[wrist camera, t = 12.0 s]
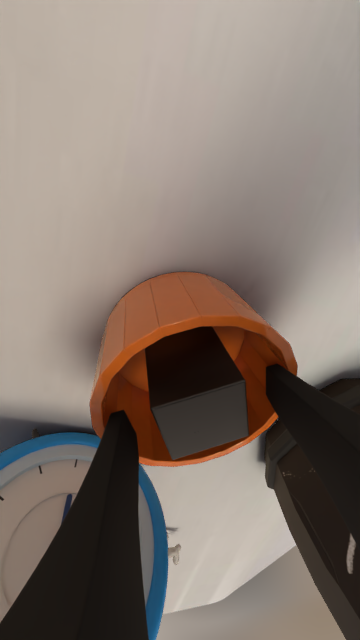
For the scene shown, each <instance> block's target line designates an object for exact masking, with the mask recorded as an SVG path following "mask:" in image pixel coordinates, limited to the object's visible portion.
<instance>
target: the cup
mask: <svg viewBox="0 0 360 640" xmlns="http://www.w3.org/2000/svg"><path fill="white" fill-rule="evenodd" d="M200 326H212V327H213V329H214V330H215V332H216V333H217V335H218V337H219V338H220V340H221V342H222V343H223V345H224V346H225V348H226V350H227V351H228V353H229V355H230V356H231V358H232V359H233V361H234V363H235V364H236V366H237V368H238V369H239V371H240V372H241V374H242V376H243V377H244V379H245V381H246V396H247V411H248V426H249V436H247V437H244V438H240V439H237V440H234V441H231V442H228V443H225V444H222V445H219V446H215V447H212V448H209V449H206V450H203V451H200V452H197V453H193V454H190V455H187V456H184V457H181V458H178V459H175V460H172V459H171V456H170V454H169V452H168V449H167V447H166V445H165V442H164V440H163V438H162V435H161V433H160V431H159V428H158V426H157V424H156V421H155V419H154V417H153V415H152V412H151V410H150V401H149V390H148V379H147V369H146V358H145V348H146V347H148V346H150V345H151V344H153V343H155V342H156V341H158V340H160V339H161V338H163V337H165V336H169V335H172V334H176V333H179V332H183V331H186V330H190V329H193V328H197V327H200ZM274 364H279V365H281V366H282V367H284V368H285V369H286V370H288V371H289V372H291V373H292V374H294V375H295V376H297V362H296V360H295V357H294V354H293V351H292V348H291V346H290V344H289V342H288V341H286V340H285V339H284V338H283V337H282V336H281V335H280V334H279V333H278V332H277V331H276V330H275V329H274V328H273V327H272V326H271V325H269V324H268V323H267V322H266V321H265V320H264V319H263V318H262V317H261V316H260V315H259V314H258V313H257V312H256V311H255V310H254V309H253V308H251V307H250V306H249V305H248V304H247V303H246V302H245V301H244V300H243V299H242V298H241V297H240V296H239V295H238V294H237V293H236V292H234V291H233V290H232V289H231V288H230V287H229V286H228V285H226V284H225V283H223V282H222V281H220V280H218V279H216V278H214V277H211V276H208V275H205V274H200V273H195V272H173V273H168V274H163V275H160V276H157V277H154V278H151V279H149V280H147V281H145V282H143V283H141V284H139V285H138V286H136V287H135V288H133V289H132V290H130V291H129V292H128V293H127V294H126V295H125V296H123V298H122V299H121V300H120V301H119V302H118V303H117V304H116V306H115V307H114V309H113V310H112V312H111V314H110V316H109V318H108V320H107V323H106V327H105V330H104V334H103V336H102V341H101V346H100V351H99V356H98V362H97V367H96V372H95V377H94V382H93V387H92V393H91V398H90V412H91V420H92V427H93V429H94V431H95V432H96V434H97V435H98V436H99V438H100V439H101V438H102V435H103V433H104V430H105V427H106V424H107V422H108V419H109V416H110V414H111V413H114V412H117V411H120V410H124V411H125V413H126V415H127V417H128V419H129V420H130V422H131V424H132V426H133V428H134V430H135V432H136V434H137V442H138V453H139V463H141V464H145V465H150V466H168V467H174V466H175V467H177V466H183V465H190V464H197V463H202V462H205V461H208V460H211V459H215V458H218V457H221V456H224V455H225V454H226V455H227V454H229V453H231V452H232V451H234V450H236V449H238V448H240V447H242V446H244V445H246V444H248V443H249V442H251V441H252V440H253V439H255V438H256V437H257V436H259V435H260V434H261V433H263V432H264V431H265V430H267V429H268V428H269V427H270V426H271V425H272V424H273V422H274V421H275V420H276V419H277V418H278V415H277V414H276V412H275V411H274V409H273V407H272V405H271V403H270V401H269V400H268V398H267V396H266V367H267V366H271V365H274Z"/></svg>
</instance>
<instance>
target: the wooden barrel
mask: <svg viewBox="0 0 360 640" xmlns="http://www.w3.org/2000/svg"><path fill="white" fill-rule="evenodd" d="M319 391H320V392H322V393H324V394H325V395H327V396H328V397H330V398H332V399H333V400H335V401H337V402H339V403H340V404H342V405H344V406H346V407H348V408H349V409H351V410H353V411H355V412H357V413H359V414H360V378H358V379H341V380H339V381H337V382H335V383H333V384H331V385H329V386H327V387H325V388H323V389H321V390H319ZM265 461H266V472H265V478H266V483H267V486H268V487H269V488H271V489H274V491H275V493H276V496H277V499H278V501H279V504H280V506H281V509H282V512H283V514H284V517H285V519H286V522H287V525H288V527H289V530H290V532H291V534H292V536H293V538H294V540H295V543H296V545H297V547H298V549H299V551H300V553H301V555H302V557H303V559H304V561H305V564H306V566H307V568H308V570H309V572H310V574H311V576H312V578H313V580H314V583H315V585H316V586H317V588H318V590H319V592H320V594H321V595H322V597H323V599H324V601H325V603H326V604H327V606H328V608H329V609H330V612H331V613H332V615H333V617H334V619H335V620H336V622H337V624H338V626H339V628H340V629H341V631H342V633H343V635H344V637H345V638H346V640H360V550H359V548H358V546H357V544H356V543H355V541H354V539H353V537H352V535H351V533H350V531H349V530H348V528H347V526H346V524H345V522H344V520H343V518H342V517H341V515H340V513H339V511H338V509H337V508H336V506H335V504H334V502H333V501H332V499H331V497H330V495H329V493H328V492H327V490H326V488H325V486H324V485H323V483H322V481H321V480H320V478H319V476H318V475H317V473H316V471H315V469H314V468H313V466H312V465H311V463H310V462H309V460H308V458H307V457H306V456H305V454H304V453H303V451H302V450H301V448H300V447H299V446H298V444H297V443H296V441H295V440H294V438H293V437H292V436H291V434H290V433H289V431H288V430H287V428H286V427H285V426H284V424H283V423H282V421H281V420H280V419H279V420H278V422H277V423H276V424H275V425H274V426H273V427H272V428H271V429H270V430H269V431H268V432H267V434H266V443H265Z"/></svg>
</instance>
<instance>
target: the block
mask: <svg viewBox="0 0 360 640" xmlns="http://www.w3.org/2000/svg"><path fill="white" fill-rule="evenodd" d="M145 358H146V369H147V379H148V390H149V401H150V410H151V412H152V415H153V417H154V419H155V421H156V424H157V426H158V428H159V431H160V433H161V435H162V438H163V440H164V442H165V445H166V447H167V449H168V452H169V454H170V456H171V459H172V460H175V459H178V458H181V457H184V456H187V455H190V454H193V453H197V452H200V451H203V450H206V449H209V448H212V447H215V446H219V445H222V444H225V443H228V442H231V441H234V440H237V439H240V438H244V437H247V436H249V426H248V411H247V396H246V381H245V379H244V377H243V376H242V374H241V372H240V371H239V369H238V368H237V366H236V364H235V363H234V361H233V359H232V358H231V356H230V355H229V353H228V351H227V350H226V348H225V346H224V345H223V343H222V342H221V340H220V338H219V337H218V335H217V333H216V332H215V330H214V329H213V327H212V326H200V327H197V328H193V329H190V330H186V331H183V332H179V333H176V334H172V335H169V336H165V337H163V338H161V339H160V340H158V341H156V342H155V343H153V344H151V345H150V346H148V347H146V348H145Z"/></svg>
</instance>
